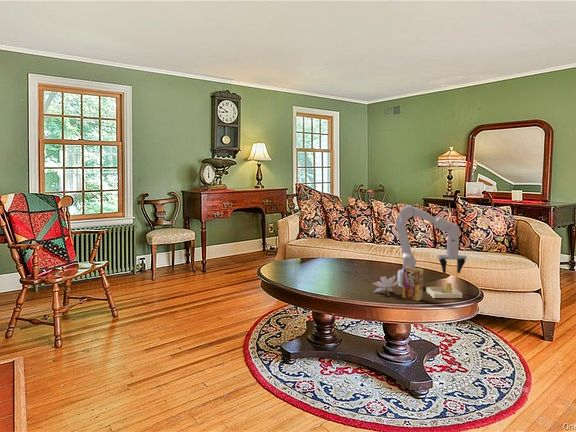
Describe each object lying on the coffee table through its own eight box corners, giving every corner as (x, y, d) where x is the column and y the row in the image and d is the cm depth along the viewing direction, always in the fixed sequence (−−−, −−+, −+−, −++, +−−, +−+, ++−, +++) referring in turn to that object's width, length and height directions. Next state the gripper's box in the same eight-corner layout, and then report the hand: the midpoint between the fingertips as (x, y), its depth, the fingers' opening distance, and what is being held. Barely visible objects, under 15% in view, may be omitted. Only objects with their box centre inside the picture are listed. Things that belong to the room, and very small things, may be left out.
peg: (445, 295, 215) (446, 284, 214) (443, 294, 218) (443, 282, 217) (451, 296, 215) (452, 284, 214) (449, 294, 218) (449, 282, 217)
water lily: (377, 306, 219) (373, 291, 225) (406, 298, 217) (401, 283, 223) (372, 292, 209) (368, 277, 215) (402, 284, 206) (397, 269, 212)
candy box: (422, 299, 209) (423, 269, 207) (418, 301, 206) (419, 270, 204) (405, 295, 215) (407, 266, 213) (401, 297, 212) (403, 267, 210)
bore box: (434, 298, 210) (434, 293, 210) (426, 291, 222) (426, 286, 222) (462, 298, 211) (462, 293, 210) (452, 291, 222) (452, 287, 222)
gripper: (441, 248, 219) (440, 274, 220) (469, 249, 219) (468, 274, 221) (436, 246, 226) (435, 271, 227) (463, 246, 226) (462, 271, 228)
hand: (451, 272), depth 224 cm, fingers open, 7 cm apart
